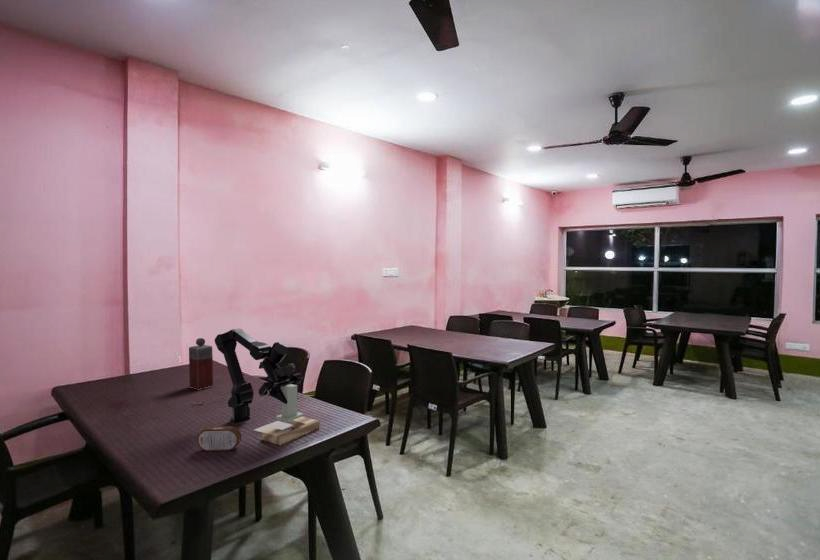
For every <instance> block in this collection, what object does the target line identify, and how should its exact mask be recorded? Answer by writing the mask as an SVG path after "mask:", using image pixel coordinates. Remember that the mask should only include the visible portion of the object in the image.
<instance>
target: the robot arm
mask: <svg viewBox="0 0 820 560" xmlns="http://www.w3.org/2000/svg"><path fill="white" fill-rule="evenodd" d="M214 343H215V346H216V348H217V350H218V351H219V352H220V353H221V354H222V355H223V357H224V360H225V364H226V367H227V371H228V373H229V376H230V379H231V382H232V388H231V390H230V393H231V397H230V398H229V400H228V401H227V405H228V406H227V407H228V408H231V417H230V419H231V420H232V421H233V422H234V423H238V422H242V421H246V420H250V419H251V408H250V406H249V405H250V404H252V403H253V399H254V394H255V393H254V389H253V386H252V383H251V382H247V381H246V380H245V377H244V375H243V370H242V367H241V364H240V361H239V358H238V355H237V352H236V348H237V345H238V344H240V346H242V347H244V348H245V349H247V350H248V351H249V355H250V356H251V358H253V360H255V361H259V360H262V361H260V362H259V365H258V369H259V370H260V369H263V370H264V372H265V374H266V379H267V381H265V382H263V383H262V385H261V386H260V388H259V389H258V394H259V396H260V397H261V398H262V397H265V396H268V397H272V398H274V399H276V400H278V401H280V402H281V403H282V402H283V403H285V404H287V400H286V398H285V396H284V394H283V393H282V391H281V387H283V386H287V385H290V384H293V385H297V386H298V385H299V384H300V383H301V381H303V379H304V376H303V375H302V373H300V372H299V373H295V371H297V367H296V365H295V364H294V363H288V364H287V365H286V366H280V365H279V363H281V362H282V361H283V360H284V359H285V357H286V355H287V354H288V352H289V349H288V347H286V346H285V345H283V343H282V344H281V343H280V341H279V342H278V341H277V342H273V344H272V346H271V345H270V344H268V343H266V342H261V341H258V340H256V339H254V338H253V337H252V336H251V335H250V334H249V335H248V334H247V333H246V332H245V331H244V330H243V329H242V328H232V329H231V330H228V331H226V332H224V333H220V334H217V335H216V336H215V338H214ZM291 374H293V375H291ZM290 375H291V376H290ZM298 399H299V396H298V395H297V401H298Z"/></svg>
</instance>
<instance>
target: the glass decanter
mask: <svg viewBox="0 0 820 560" xmlns="http://www.w3.org/2000/svg"><path fill="white" fill-rule="evenodd" d="M205 343H206V340H205V338H204V337H203V338H202V337H198V338H197V339H196V340H195V344H196V345H193V346H189V348H188V361H189V362H188V365H189V367H188V368H189V369H188V370H189V371H188V372H189V375H188V376H189V388H190V387H193V388H196V389H200V388H204V387H208V386H212V385H213V386H214V369H213V368H214V364H213V363H214V362H213V361H214V359H213V358H214V357H213V346H212V345H207V344H205Z"/></svg>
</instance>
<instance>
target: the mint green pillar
mask: <svg viewBox="0 0 820 560" xmlns="http://www.w3.org/2000/svg"><path fill="white" fill-rule="evenodd" d="M281 391H282V393H283V394H284V396H285V398H286V400H287V404H285V403H283V402H281V414H278V415H275V420H277V421H281V422H285V423H289V422H292V420H295V419H297V418H300V417H305V416H304V413H303V412H299V411H298V410H299V409H298V408H299V407H298V400H297V396H298V385H293V384H290V385H287V386H286V385H285V386H281Z"/></svg>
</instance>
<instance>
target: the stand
mask: <svg viewBox="0 0 820 560" xmlns="http://www.w3.org/2000/svg"><path fill="white" fill-rule="evenodd" d="M291 425H292V427H291V428H293V429H290V430H288V431H286V430H280V429H277V428H270V429H268V430H265V431H263V432H262V433H261V439H262V441H265V442H269V443H272V444H275V445H277V444H278V446H283V445H285V444H287V443H290V442H292V441H294V440H296V439H298V438H300V436H301V437H303V436H305V435H308V434H310V433H311V431H312V432H314V431H316V430H318V428H319V427H321V426H320V425H321V424H320V420H318V419H314V418H310V417H305V416H302V417H300V418H297V419H295V420H292V421H291ZM315 429H316V430H315ZM319 429H320V428H319ZM313 430H314V431H313ZM309 432H310V433H309ZM304 434H305V435H304ZM302 435H303V436H302ZM293 439H294V440H293ZM291 440H292V441H291ZM282 444H283V445H282Z"/></svg>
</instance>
